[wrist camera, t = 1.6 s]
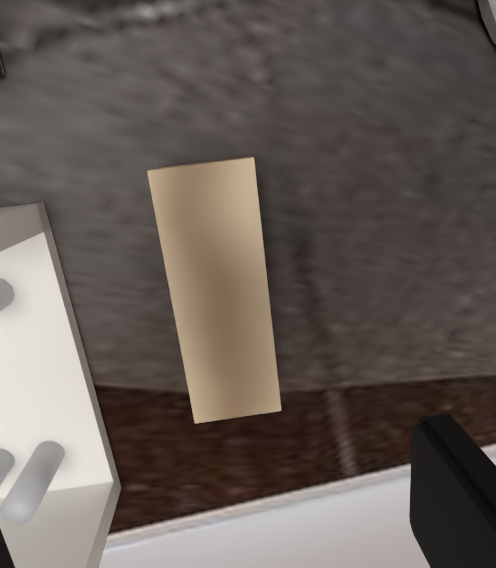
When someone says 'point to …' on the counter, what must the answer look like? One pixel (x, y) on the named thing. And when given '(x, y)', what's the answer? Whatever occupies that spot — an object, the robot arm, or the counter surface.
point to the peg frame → (47, 409)
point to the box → (1, 70)
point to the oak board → (218, 285)
